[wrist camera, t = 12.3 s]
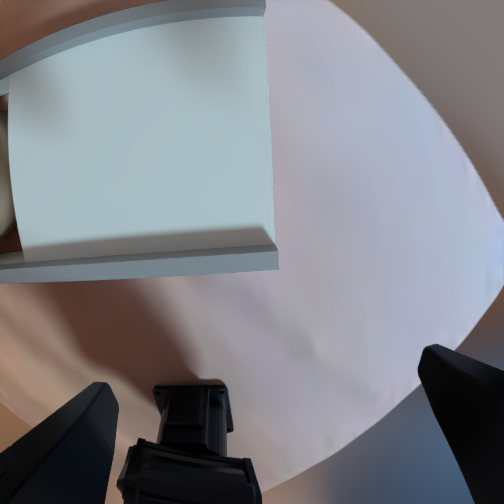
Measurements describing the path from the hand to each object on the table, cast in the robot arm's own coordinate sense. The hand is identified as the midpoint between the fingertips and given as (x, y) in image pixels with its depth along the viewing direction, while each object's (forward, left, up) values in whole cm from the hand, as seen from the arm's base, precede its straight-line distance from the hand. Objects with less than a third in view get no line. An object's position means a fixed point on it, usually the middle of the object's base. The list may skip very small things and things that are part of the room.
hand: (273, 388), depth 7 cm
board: (+7, +14, -13) cm, 20 cm away
